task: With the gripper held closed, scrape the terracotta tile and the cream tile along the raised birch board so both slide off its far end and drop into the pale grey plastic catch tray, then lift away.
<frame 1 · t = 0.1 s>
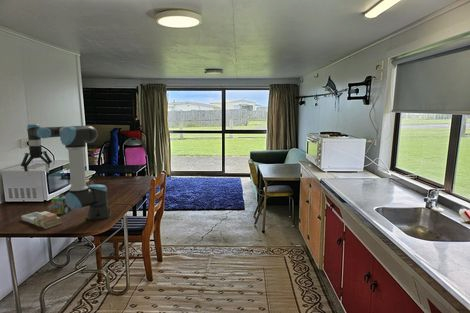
hand: (37, 174, 216), 28 cm above the table, fingers open, 13 cm apart
cream tile: (44, 217, 195), point 4 cm above the table, touching birch board
terracotta tile: (50, 219, 192), point 4 cm above the table, touching birch board
birch board: (48, 224, 194), on the table
catch tray: (35, 219, 201), on the table
chalk box: (61, 212, 217), on the table
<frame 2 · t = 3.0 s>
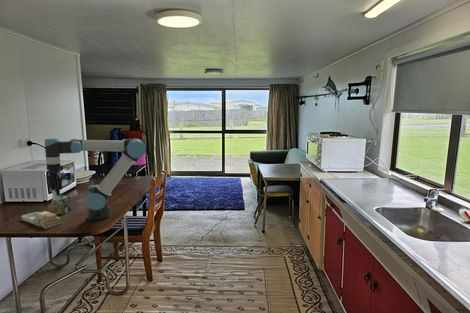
hand: (56, 199, 185), 18 cm above the table, fingers open, 2 cm apart
nothing on the table moved.
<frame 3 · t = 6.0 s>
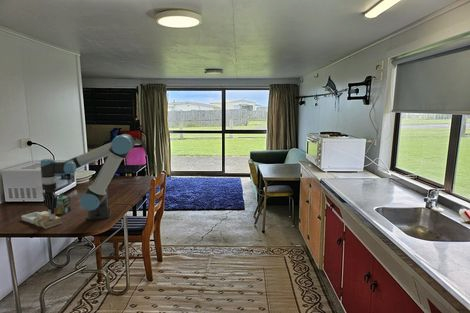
hand: (52, 218, 190), 5 cm above the table, fingers closed
cream tile: (44, 217, 195), point 4 cm above the table, touching birch board, terracotta tile
terracotta tile: (49, 218, 192), point 4 cm above the table, touching cream tile, gripper
everything else where it was.
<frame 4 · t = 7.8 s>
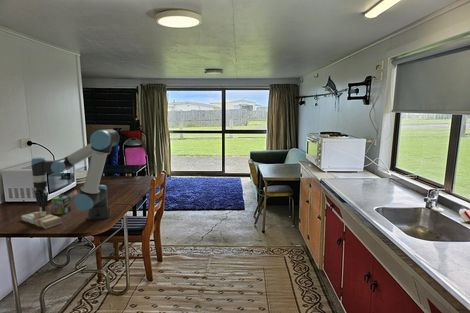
hand: (43, 215, 195), 5 cm above the table, fingers closed
cream tile: (34, 214, 201), point 4 cm above the table, tilted 180°, touching catch tray
terracotta tile: (40, 216, 197), point 4 cm above the table, tilted 11°, touching birch board
everything else where it was.
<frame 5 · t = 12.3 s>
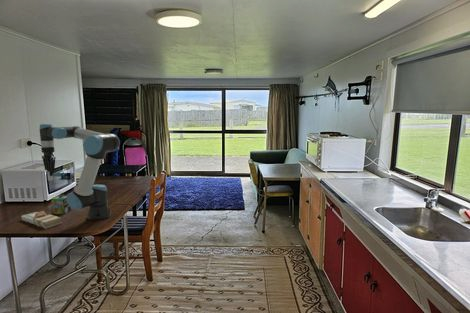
hand: (50, 180, 204), 26 cm above the table, fingers closed
terracotta tile: (40, 217, 197), point 3 cm above the table, tilted 48°, touching birch board, catch tray
everything else where it was.
at the end: terracotta tile inside the target area (7.6 cm from its centre), point 2.8 cm above the table; cream tile inside the target area (0.4 cm from its centre), point 3.6 cm above the table; terracotta tile point 2.8 cm above the table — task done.
